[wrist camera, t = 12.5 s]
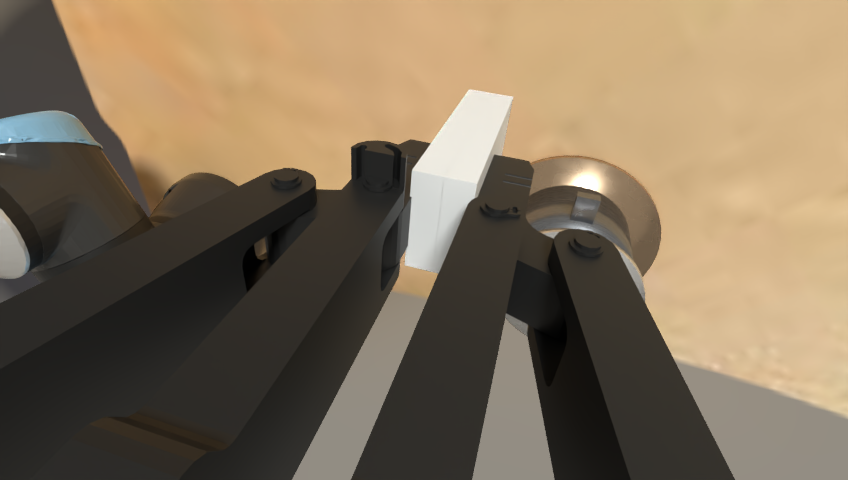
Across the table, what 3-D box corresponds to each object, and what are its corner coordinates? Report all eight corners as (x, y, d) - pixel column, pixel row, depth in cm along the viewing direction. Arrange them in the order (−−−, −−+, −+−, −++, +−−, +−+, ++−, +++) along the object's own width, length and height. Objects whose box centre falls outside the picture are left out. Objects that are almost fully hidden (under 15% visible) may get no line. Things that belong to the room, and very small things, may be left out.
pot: (470, 280, 59) (455, 326, 52) (496, 139, 48) (481, 175, 41) (625, 318, 56) (631, 373, 49) (691, 176, 45) (710, 221, 38)
